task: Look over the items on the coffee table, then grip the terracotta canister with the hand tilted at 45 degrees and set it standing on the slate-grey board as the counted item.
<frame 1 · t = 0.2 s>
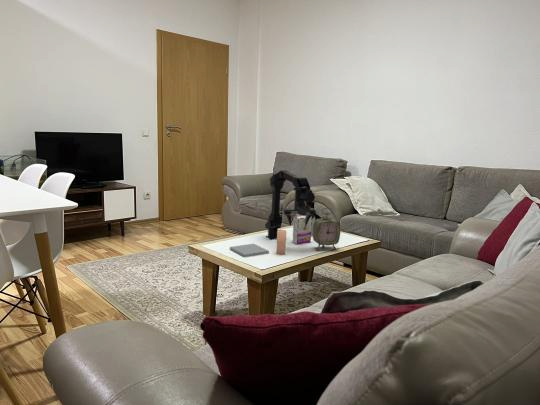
hand: (298, 225, 251), 14 cm above the table, tool pointing down, fingers open, 9 cm apart
tabletop clock: (324, 249, 256), on the table
candy bar box: (301, 242, 268), on the table
slate board: (249, 251, 244), on the table
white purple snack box: (303, 234, 288), on the table
terracotta canister: (280, 253, 243), on the table
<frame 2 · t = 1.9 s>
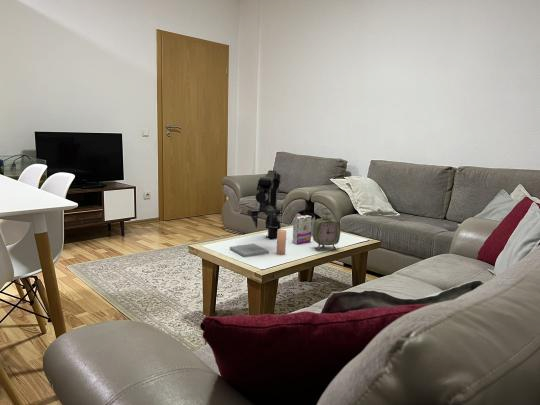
hand: (263, 227, 247), 13 cm above the table, tool pointing down, fingers open, 9 cm apart
nothing on the table moved.
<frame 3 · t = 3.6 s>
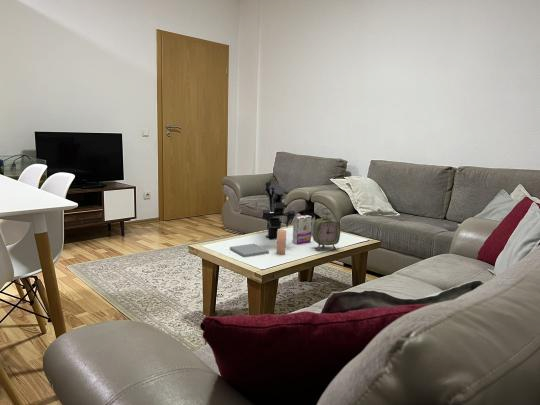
hand: (279, 227, 249), 13 cm above the table, tool tilted 45°, fingers open, 9 cm apart
nothing on the table moved.
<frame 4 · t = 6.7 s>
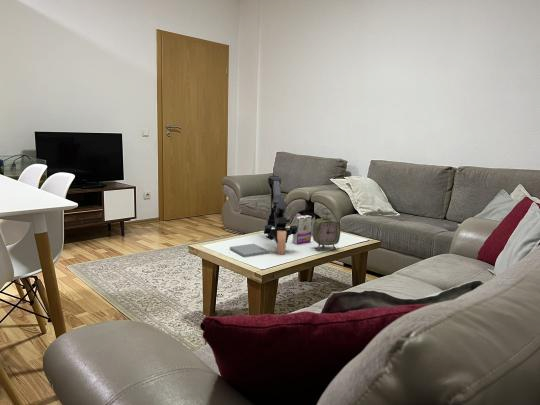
hand: (281, 242, 241), 7 cm above the table, tool tilted 45°, fingers closed on terracotta canister, 5 cm apart
terracotta canister: (280, 253, 243), on the table, touching gripper
everything else where it was.
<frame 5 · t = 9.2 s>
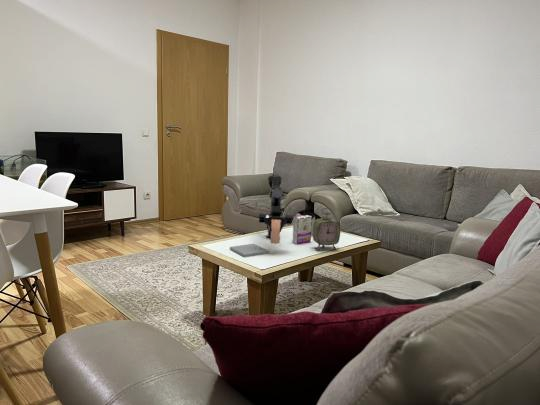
hand: (275, 231, 239), 13 cm above the table, tool tilted 45°, fingers closed on terracotta canister, 5 cm apart
terracotta canister: (275, 242, 242), point 6 cm above the table, touching gripper
everything else where it was.
when the fingers open (9 cm above the table, at t = 11.6 s): terracotta canister drops 1 cm, resting on slate board.
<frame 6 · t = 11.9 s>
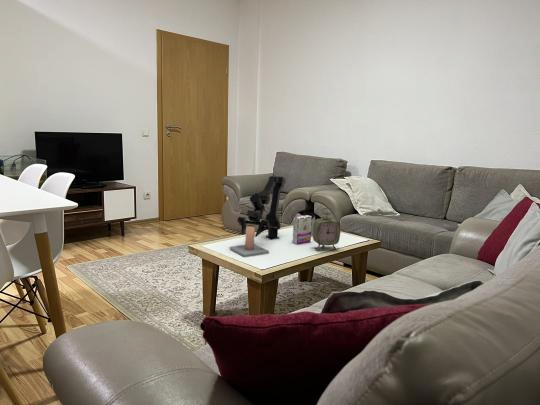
hand: (248, 235, 241), 10 cm above the table, tool tilted 45°, fingers open, 8 cm apart
terracotta canister: (249, 248, 244), point 2 cm above the table, touching slate board
everything else where it was.
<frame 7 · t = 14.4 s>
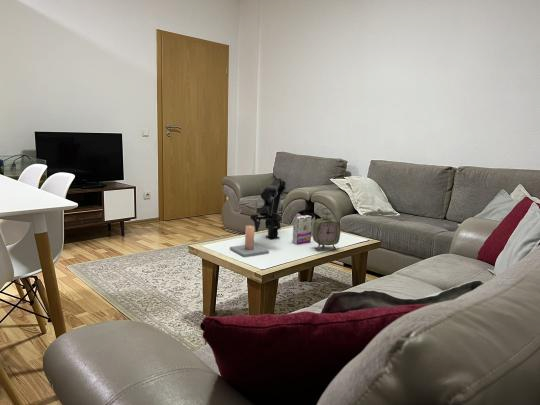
hand: (263, 231, 251), 10 cm above the table, tool tilted 35°, fingers open, 9 cm apart
nothing on the table moved.
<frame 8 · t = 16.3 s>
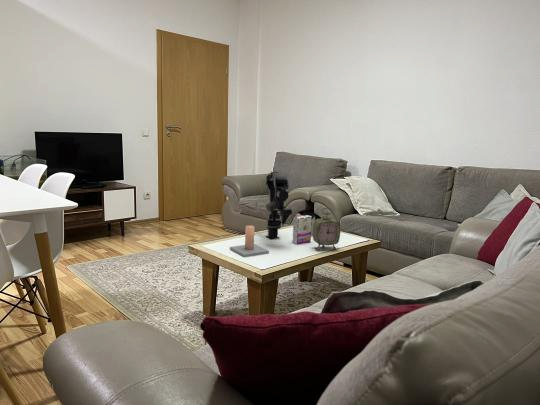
hand: (278, 223, 259), 13 cm above the table, tool pointing down, fingers open, 9 cm apart
nothing on the table moved.
at the end: terracotta canister inside the target area on the slate board (0.1 cm from its centre), point 1.5 cm above the slate board's base; terracotta canister tilted 0°; the gripper is holding nothing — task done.
